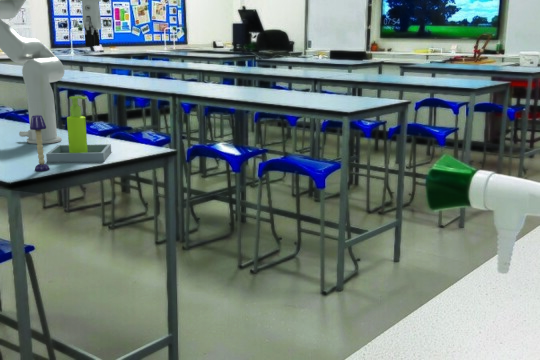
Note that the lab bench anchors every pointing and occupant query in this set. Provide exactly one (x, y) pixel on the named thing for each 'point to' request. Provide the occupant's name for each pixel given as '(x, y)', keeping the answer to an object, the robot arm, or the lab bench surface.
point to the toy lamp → (39, 140)
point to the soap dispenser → (76, 128)
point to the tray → (79, 154)
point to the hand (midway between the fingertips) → (92, 46)
